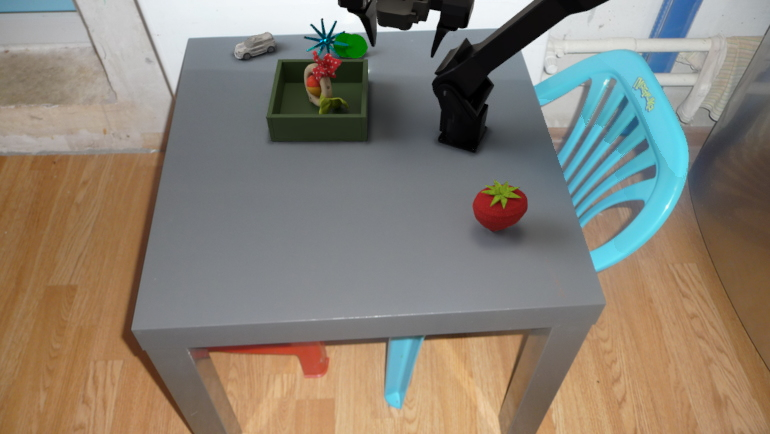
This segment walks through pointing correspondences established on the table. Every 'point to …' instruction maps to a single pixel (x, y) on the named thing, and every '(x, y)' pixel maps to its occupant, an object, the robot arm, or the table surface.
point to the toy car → (255, 46)
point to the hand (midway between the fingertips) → (402, 50)
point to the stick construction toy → (339, 43)
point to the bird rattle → (322, 83)
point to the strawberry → (499, 206)
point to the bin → (301, 117)
